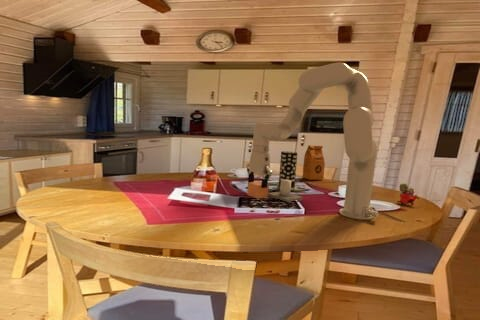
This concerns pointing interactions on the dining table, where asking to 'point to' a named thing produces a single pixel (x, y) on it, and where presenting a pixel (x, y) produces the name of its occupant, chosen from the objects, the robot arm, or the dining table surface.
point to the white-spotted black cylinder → (288, 168)
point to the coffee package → (313, 163)
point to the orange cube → (257, 190)
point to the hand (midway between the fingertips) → (257, 185)
